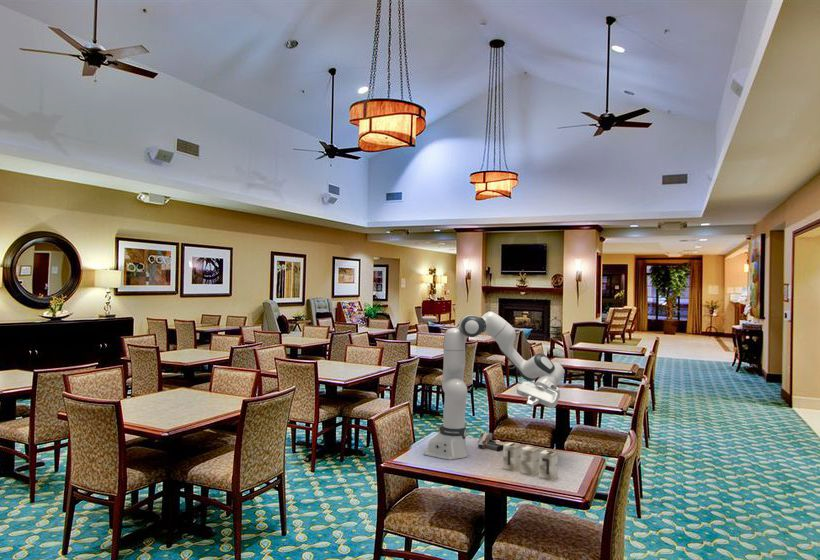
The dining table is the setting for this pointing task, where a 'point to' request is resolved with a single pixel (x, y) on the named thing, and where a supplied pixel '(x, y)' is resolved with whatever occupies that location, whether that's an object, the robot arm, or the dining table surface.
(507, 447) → the block one
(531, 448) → the plain block
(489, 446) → the toy gun
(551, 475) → the block seven
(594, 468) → the dining table surface
